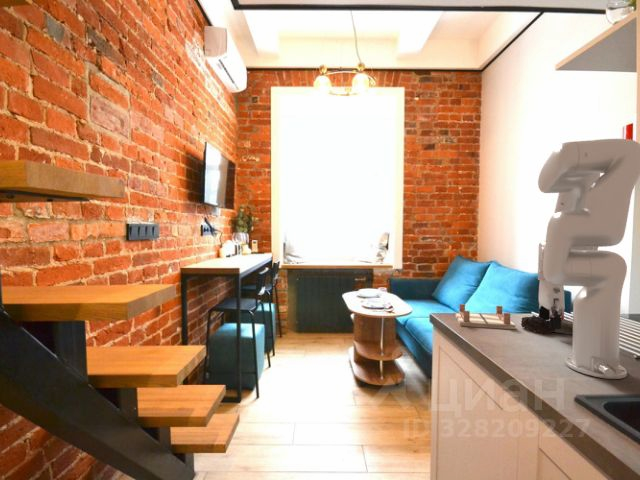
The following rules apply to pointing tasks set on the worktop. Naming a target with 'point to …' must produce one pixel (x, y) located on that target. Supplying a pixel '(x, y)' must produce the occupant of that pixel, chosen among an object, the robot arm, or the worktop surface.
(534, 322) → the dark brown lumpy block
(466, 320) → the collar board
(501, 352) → the worktop surface
